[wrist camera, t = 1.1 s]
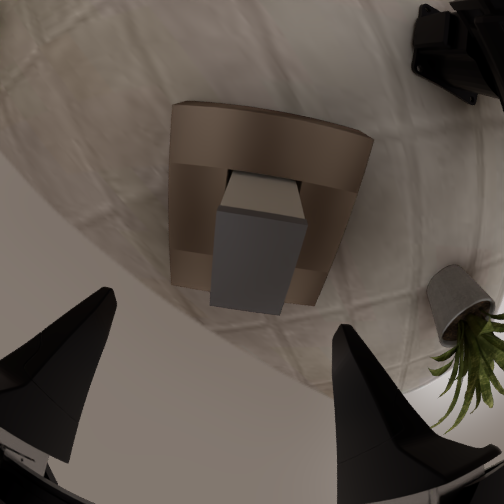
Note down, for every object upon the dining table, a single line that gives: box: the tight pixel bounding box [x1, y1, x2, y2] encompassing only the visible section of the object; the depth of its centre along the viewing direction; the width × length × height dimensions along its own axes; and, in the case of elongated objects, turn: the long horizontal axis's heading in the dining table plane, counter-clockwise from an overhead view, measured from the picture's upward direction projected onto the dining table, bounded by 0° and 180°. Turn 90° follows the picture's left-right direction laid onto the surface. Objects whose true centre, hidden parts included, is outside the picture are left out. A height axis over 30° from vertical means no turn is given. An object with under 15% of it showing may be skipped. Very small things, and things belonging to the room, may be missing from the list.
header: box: [168, 101, 374, 306], centre depth 19 cm, size 12×14×3 cm
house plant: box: [427, 265, 504, 434], centre depth 18 cm, size 14×14×16 cm
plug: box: [210, 170, 308, 316], centre depth 17 cm, size 4×6×7 cm
